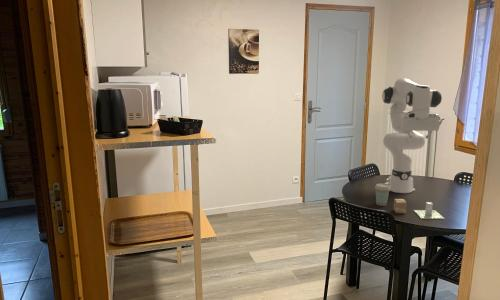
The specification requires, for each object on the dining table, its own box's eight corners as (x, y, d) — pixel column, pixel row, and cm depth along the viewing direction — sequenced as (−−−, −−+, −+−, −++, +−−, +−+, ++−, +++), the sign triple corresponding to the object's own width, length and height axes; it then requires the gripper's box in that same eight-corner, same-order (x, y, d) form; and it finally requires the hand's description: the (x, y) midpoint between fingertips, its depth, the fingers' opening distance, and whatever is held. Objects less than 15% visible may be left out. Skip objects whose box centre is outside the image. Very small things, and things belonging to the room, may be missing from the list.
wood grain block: (393, 209, 217) (394, 198, 216) (402, 209, 217) (403, 199, 215) (396, 213, 212) (397, 201, 210) (405, 213, 211) (406, 202, 210)
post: (413, 211, 215) (414, 199, 213) (435, 211, 214) (436, 199, 212) (421, 219, 203) (422, 206, 201) (444, 219, 202) (445, 206, 201)
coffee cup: (390, 206, 222) (391, 187, 219) (375, 206, 223) (376, 186, 221) (387, 202, 230) (388, 183, 227) (373, 201, 231) (374, 182, 229)
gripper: (437, 113, 212) (435, 137, 215) (400, 113, 213) (398, 137, 216) (442, 114, 206) (440, 139, 208) (403, 114, 207) (402, 139, 210)
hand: (418, 138), depth 212 cm, fingers open, 8 cm apart
